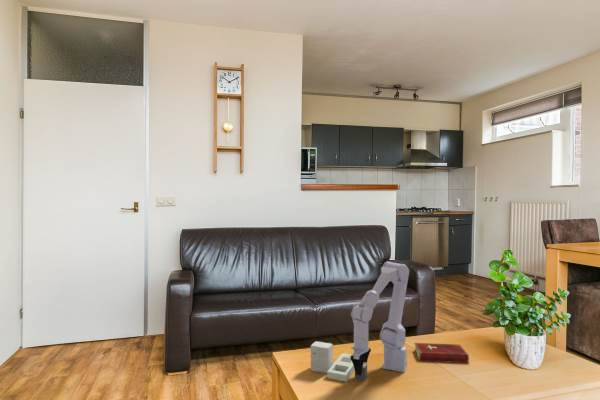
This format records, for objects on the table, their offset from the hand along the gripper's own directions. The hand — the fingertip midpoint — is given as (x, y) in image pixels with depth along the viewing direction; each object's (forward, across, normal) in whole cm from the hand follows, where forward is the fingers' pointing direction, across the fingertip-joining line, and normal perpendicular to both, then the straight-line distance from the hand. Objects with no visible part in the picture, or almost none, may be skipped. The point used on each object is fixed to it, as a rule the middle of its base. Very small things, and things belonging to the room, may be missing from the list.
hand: (360, 370), depth 152 cm
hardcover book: (+3, -36, +28) cm, 46 cm away
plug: (+3, 0, 0) cm, 3 cm away
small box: (+3, -1, -17) cm, 17 cm away
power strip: (+3, -8, -8) cm, 12 cm away
